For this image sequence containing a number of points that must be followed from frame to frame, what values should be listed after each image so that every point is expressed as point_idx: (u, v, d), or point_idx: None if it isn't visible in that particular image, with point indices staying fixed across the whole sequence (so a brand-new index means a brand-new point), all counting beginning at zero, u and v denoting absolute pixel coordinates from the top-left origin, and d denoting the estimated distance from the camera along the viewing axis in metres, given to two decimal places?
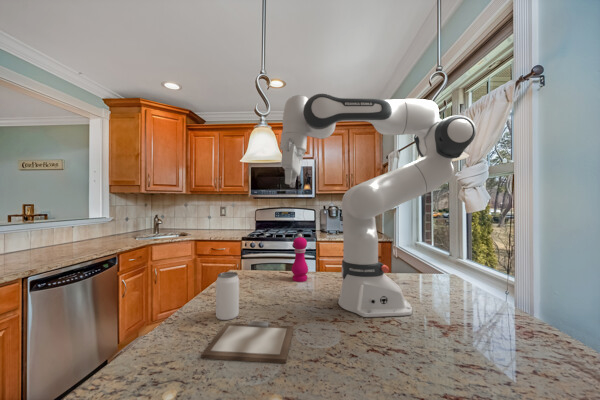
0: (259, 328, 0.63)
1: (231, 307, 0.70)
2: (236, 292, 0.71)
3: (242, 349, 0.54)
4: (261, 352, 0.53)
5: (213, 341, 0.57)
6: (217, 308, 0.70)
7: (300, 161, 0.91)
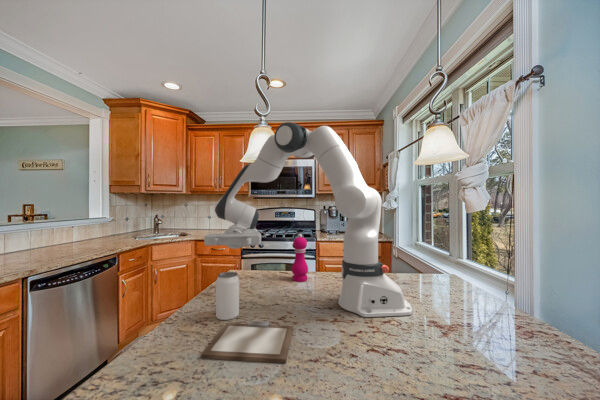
0: (259, 328, 0.63)
1: (231, 307, 0.70)
2: (236, 292, 0.71)
3: (242, 349, 0.54)
4: (261, 352, 0.53)
5: (213, 341, 0.57)
6: (217, 308, 0.70)
7: (254, 233, 0.96)
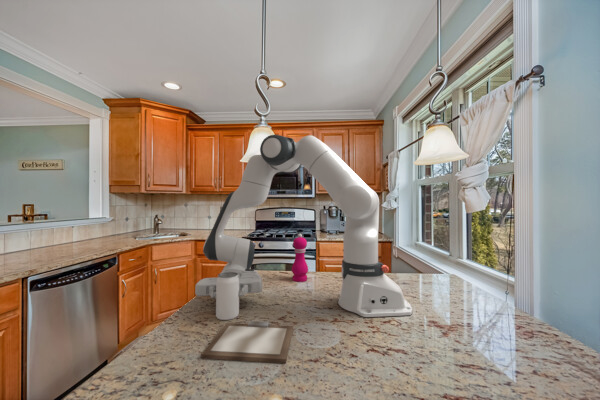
0: (259, 328, 0.63)
1: (231, 307, 0.70)
2: (236, 292, 0.71)
3: (242, 349, 0.54)
4: (261, 352, 0.53)
5: (213, 341, 0.57)
6: (217, 308, 0.70)
7: (254, 276, 0.83)
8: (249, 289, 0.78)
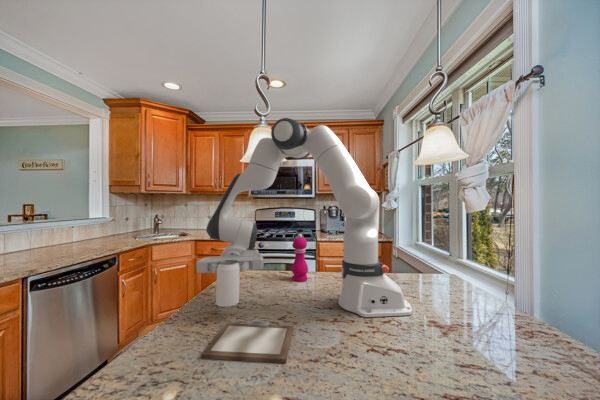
0: (259, 328, 0.63)
1: (233, 294, 0.70)
2: (237, 279, 0.71)
3: (242, 349, 0.54)
4: (261, 352, 0.53)
5: (213, 341, 0.57)
6: (217, 295, 0.70)
7: (255, 255, 0.83)
8: (250, 266, 0.78)
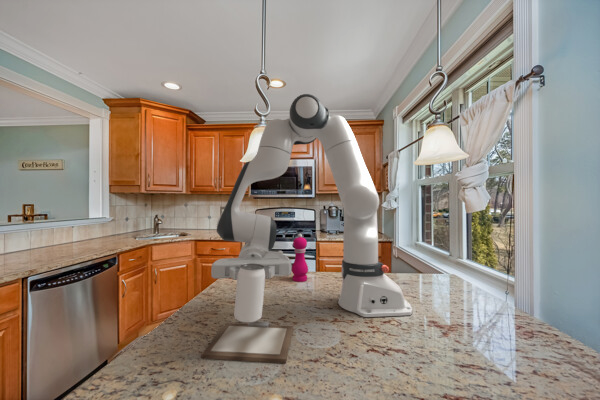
0: (259, 328, 0.63)
1: (256, 307, 0.56)
2: (262, 288, 0.58)
3: (242, 349, 0.54)
4: (261, 352, 0.53)
5: (213, 341, 0.57)
6: (237, 308, 0.56)
7: (280, 257, 0.69)
8: (276, 271, 0.64)
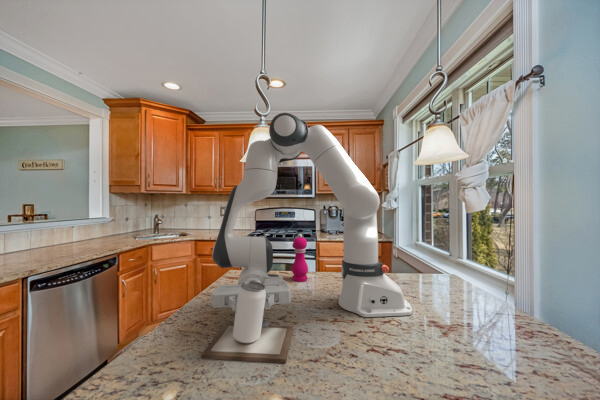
0: None
1: (255, 328, 0.56)
2: (262, 309, 0.57)
3: (242, 349, 0.54)
4: (261, 352, 0.53)
5: (213, 341, 0.57)
6: (236, 328, 0.56)
7: (280, 283, 0.69)
8: (276, 299, 0.64)
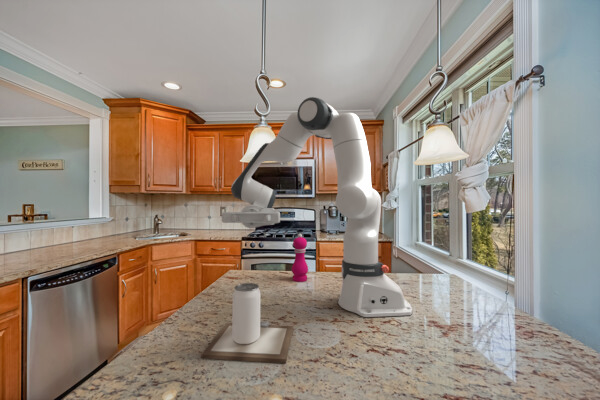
0: None
1: (254, 328, 0.56)
2: (258, 308, 0.58)
3: (242, 349, 0.54)
4: (261, 352, 0.53)
5: (213, 341, 0.57)
6: (234, 330, 0.56)
7: (272, 211, 0.93)
8: None
